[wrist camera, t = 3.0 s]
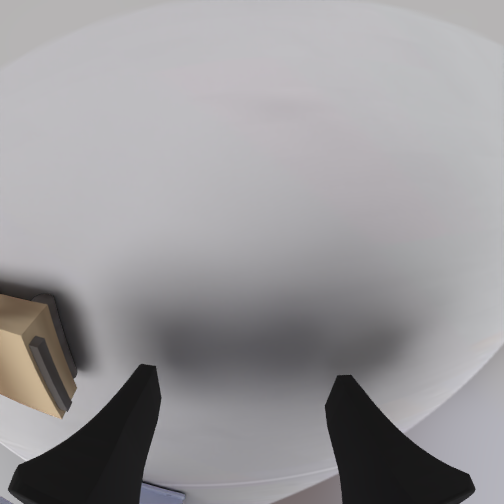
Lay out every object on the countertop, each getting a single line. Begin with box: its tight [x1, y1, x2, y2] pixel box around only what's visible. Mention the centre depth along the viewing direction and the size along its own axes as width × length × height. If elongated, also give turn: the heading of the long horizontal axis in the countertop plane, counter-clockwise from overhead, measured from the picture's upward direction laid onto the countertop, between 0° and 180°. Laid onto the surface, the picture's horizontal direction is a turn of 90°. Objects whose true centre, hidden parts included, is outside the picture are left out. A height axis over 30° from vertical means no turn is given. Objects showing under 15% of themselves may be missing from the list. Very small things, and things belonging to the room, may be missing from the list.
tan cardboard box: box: [0, 294, 77, 419], centre depth 11 cm, size 6×5×3 cm
